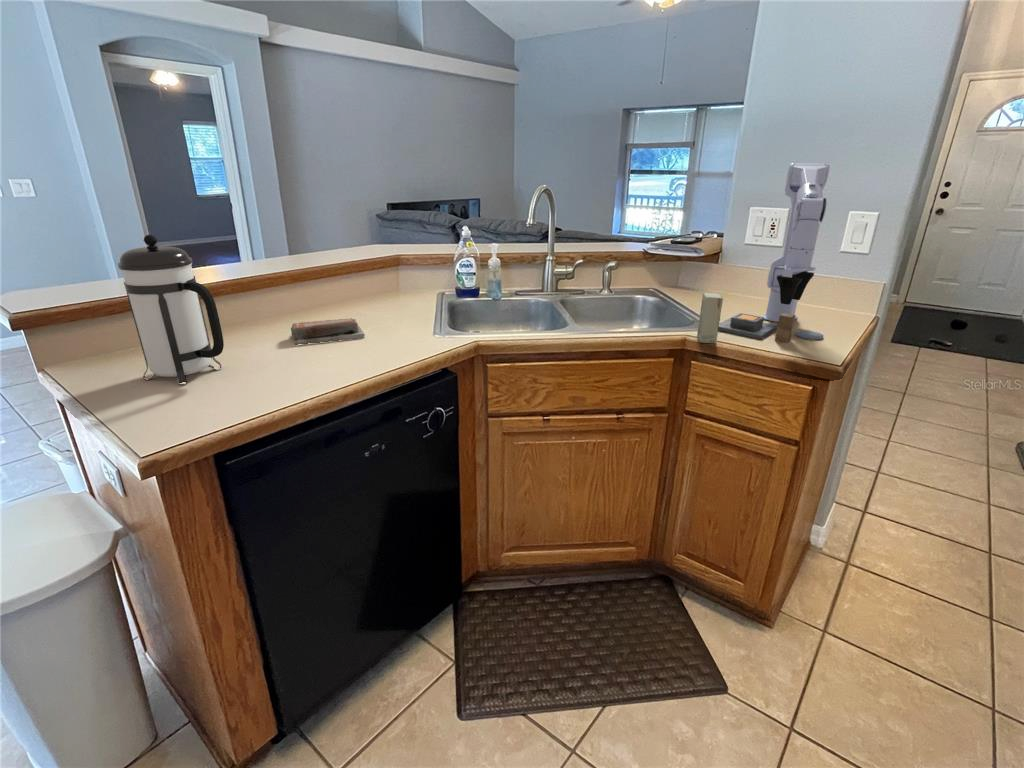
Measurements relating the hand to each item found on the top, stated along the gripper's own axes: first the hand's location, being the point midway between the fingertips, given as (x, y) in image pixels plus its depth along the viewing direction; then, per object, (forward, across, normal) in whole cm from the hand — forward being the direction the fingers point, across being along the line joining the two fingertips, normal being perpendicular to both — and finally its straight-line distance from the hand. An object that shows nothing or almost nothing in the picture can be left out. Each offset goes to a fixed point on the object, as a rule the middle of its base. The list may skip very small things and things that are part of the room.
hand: (790, 301), depth 138 cm
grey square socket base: (+10, +3, +11) cm, 15 cm away
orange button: (+8, +3, +11) cm, 14 cm away
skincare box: (+11, -14, +15) cm, 23 cm away
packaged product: (+12, -84, +89) cm, 123 cm away
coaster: (+10, +9, -4) cm, 14 cm away
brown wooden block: (+11, 0, 0) cm, 11 cm away
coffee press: (+12, -119, +85) cm, 147 cm away
